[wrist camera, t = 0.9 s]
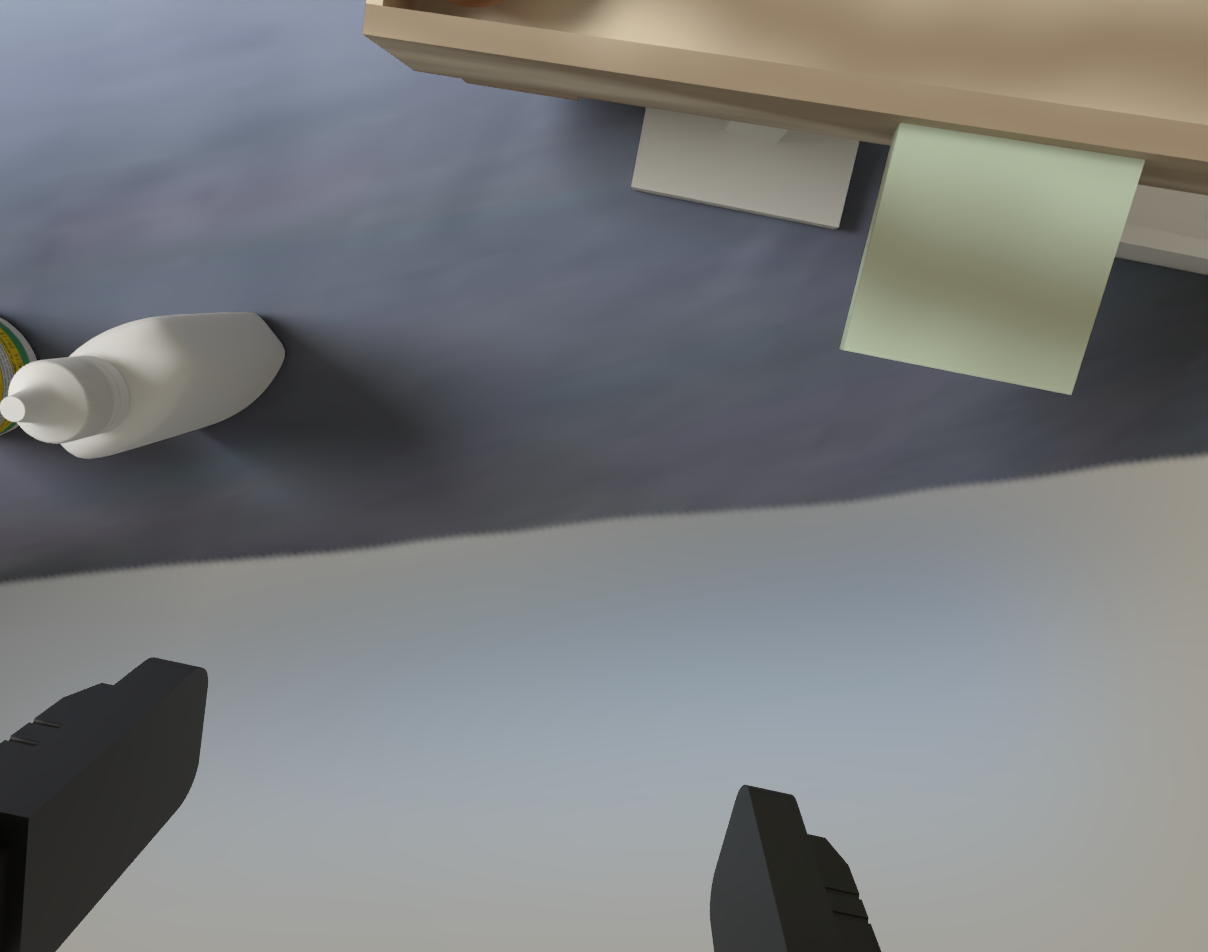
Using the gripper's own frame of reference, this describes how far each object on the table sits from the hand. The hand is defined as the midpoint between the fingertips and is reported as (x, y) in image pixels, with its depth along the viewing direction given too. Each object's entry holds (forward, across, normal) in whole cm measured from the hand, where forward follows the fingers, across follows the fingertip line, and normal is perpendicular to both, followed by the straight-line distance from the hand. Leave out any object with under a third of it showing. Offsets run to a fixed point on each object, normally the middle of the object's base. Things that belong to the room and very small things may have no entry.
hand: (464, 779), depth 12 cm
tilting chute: (+18, -5, -13) cm, 23 cm away
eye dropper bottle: (+23, +15, 0) cm, 27 cm away
